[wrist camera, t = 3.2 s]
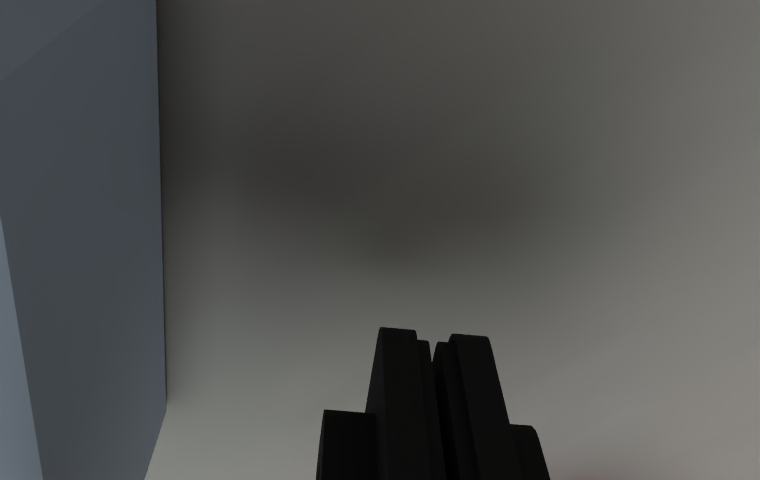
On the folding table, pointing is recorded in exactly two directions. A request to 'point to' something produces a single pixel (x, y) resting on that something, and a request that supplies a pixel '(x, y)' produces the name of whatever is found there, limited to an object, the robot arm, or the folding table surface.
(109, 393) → the blue end cap
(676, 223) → the folding table surface
